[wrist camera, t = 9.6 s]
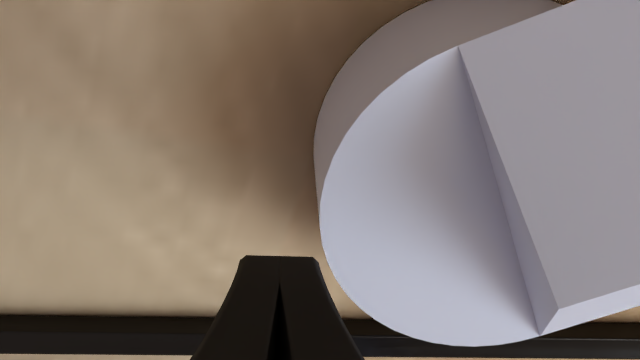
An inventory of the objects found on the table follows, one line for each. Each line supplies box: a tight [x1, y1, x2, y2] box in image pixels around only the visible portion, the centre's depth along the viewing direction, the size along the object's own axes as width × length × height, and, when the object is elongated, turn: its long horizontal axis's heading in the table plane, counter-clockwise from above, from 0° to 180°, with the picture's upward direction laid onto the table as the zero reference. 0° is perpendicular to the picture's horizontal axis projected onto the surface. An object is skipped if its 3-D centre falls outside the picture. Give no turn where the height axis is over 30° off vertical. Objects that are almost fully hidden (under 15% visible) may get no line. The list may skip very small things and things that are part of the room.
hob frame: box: [0, 315, 640, 359], centre depth 16 cm, size 18×30×2 cm, turn 86°
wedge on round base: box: [314, 0, 640, 347], centre depth 14 cm, size 9×7×13 cm
